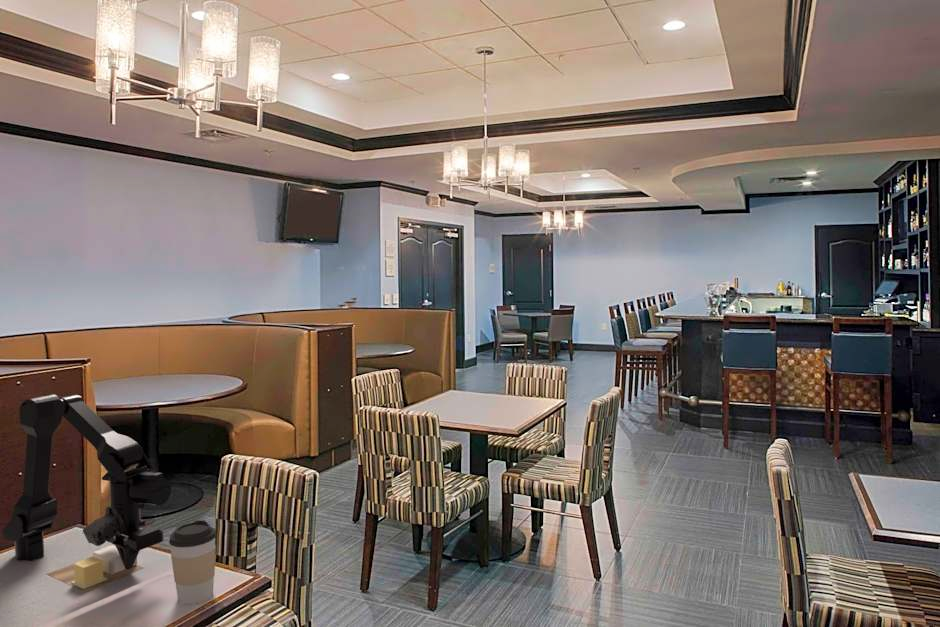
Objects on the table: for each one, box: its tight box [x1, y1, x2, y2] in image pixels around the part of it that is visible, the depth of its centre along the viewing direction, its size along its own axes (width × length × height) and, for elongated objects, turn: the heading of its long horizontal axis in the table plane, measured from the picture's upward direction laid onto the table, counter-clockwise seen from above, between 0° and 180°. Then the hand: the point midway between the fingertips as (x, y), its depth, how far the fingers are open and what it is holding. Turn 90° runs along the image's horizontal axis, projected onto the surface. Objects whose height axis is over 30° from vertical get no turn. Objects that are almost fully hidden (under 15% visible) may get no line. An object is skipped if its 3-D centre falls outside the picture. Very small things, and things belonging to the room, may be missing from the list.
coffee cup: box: [168, 519, 217, 605], centre depth 138 cm, size 9×9×15 cm
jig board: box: [46, 548, 144, 593], centre depth 149 cm, size 16×13×3 cm
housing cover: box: [92, 544, 138, 575], centre depth 151 cm, size 7×6×4 cm
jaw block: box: [73, 556, 104, 586], centre depth 144 cm, size 4×4×4 cm
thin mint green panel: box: [71, 577, 107, 589], centre depth 144 cm, size 5×5×1 cm
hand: (128, 568), depth 148 cm, fingers closed
